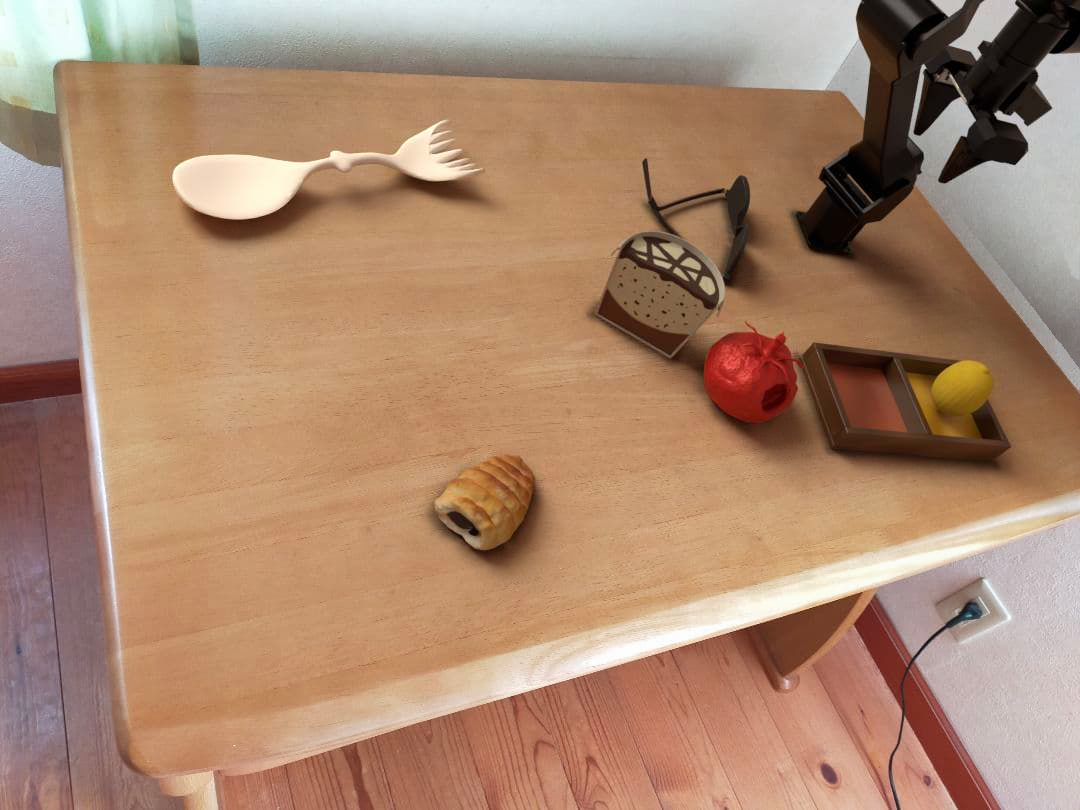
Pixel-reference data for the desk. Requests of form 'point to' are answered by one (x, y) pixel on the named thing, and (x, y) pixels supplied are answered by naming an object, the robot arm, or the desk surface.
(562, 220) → the desk surface
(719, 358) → the pomegranate
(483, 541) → the pastry
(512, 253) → the desk surface
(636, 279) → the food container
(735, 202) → the sunglasses
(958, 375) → the lemon
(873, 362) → the sorting tray
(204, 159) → the spoon
